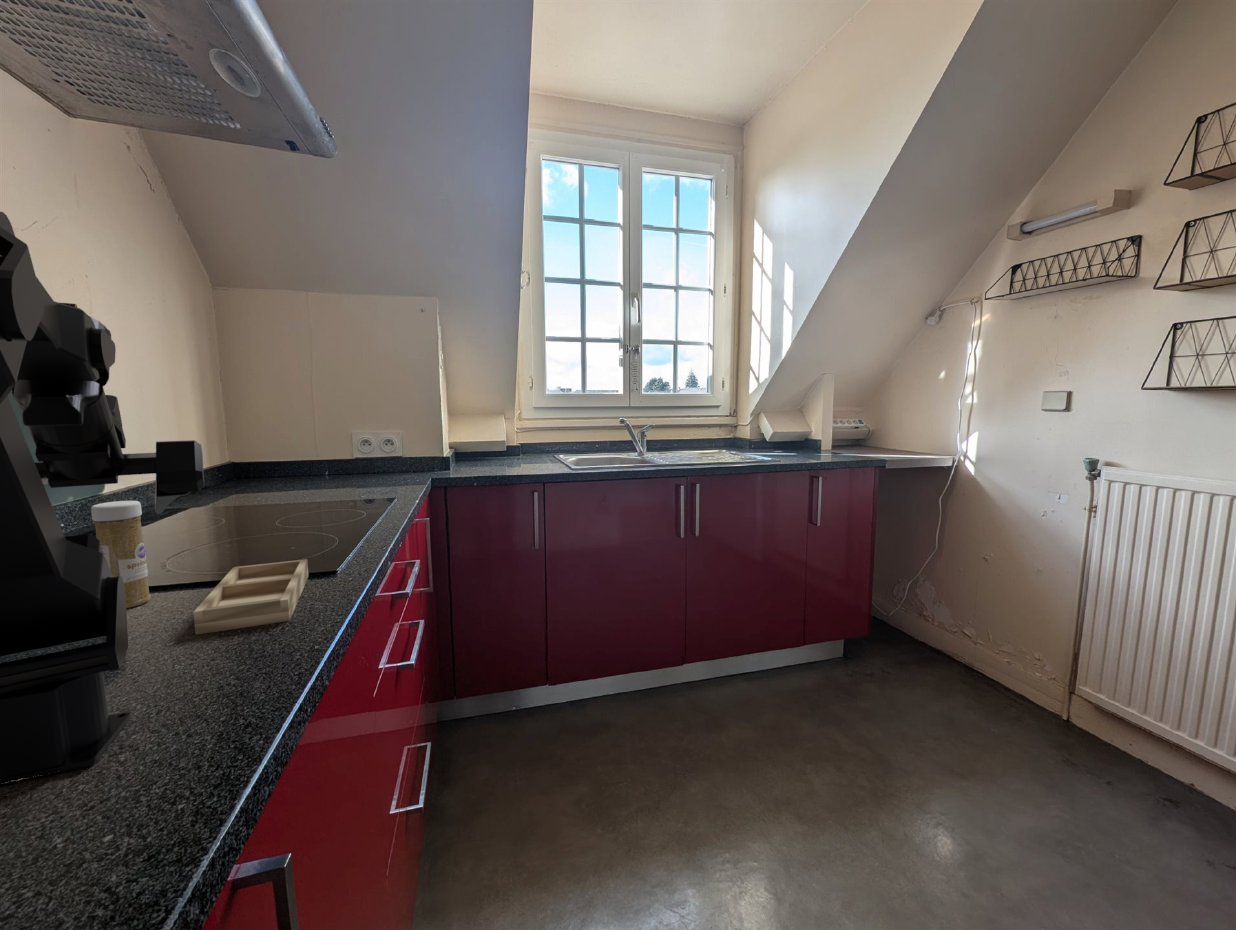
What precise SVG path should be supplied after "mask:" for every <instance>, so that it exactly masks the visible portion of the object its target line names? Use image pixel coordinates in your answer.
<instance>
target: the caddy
mask: <svg viewBox="0 0 1236 930" xmlns="http://www.w3.org/2000/svg"><path fill="white" fill-rule="evenodd" d="M308 579H309V565H308V558H306V559H298V560H297V559H296V560H288V561H287V560H285V561H279V562H269V563H259V564H249V565H240V566H239V565H238V566H233V567H232V569H230V571H228V572H227V574H226V575H225V576H224V577H223V578H222V579H221V580H220V582H219V583H218V584H217V585H216V586H215V587H214V588H213V589H212V590H211V591H210V593H209V594H208V595H207V596H206V597H205V599H203V600H202V601H201V603H200V604H199V605H198V606H197V607H196V608H195V609H194V611H192V612H193V621H194V623H193V624H194V631H195V635H202V634H208V633H216V632H223V631H229V630H235V629H241V628H242V629H243V628H244V629H245V628H250V627H257V626H263V625H271V624H278V623H283V622H290V621H291V619H292V617H293V615H294V612H295V610H296V607H297V605H298V602H299V600H300V596H302V593H303V591H304V587H305V586H306V583H307V582H308Z"/></svg>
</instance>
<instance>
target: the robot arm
mask: <svg viewBox="0 0 1236 930" xmlns="http://www.w3.org/2000/svg"><path fill="white" fill-rule="evenodd" d="M15 234H16V233H15V231H14V227H13V226H12V223H11V221H10V219H9V217H8V216H7V214H6V213H4V211H0V658H5V657H10V656H14V655H15V656H16V655H19V654H20V655H21V654H24V653H25V654H26V653H30V652H31V653H32V652H35V651H40V650H45V649H51V648H56V647H62V646H67V645H70V644H76V643H77V644H78V643H81V642H86V641H87V642H88V641H90V640H91V641H92V640H96V639H101V638H105V641H104V642H100V643H94V644H90V645H86V646H84V645H83V646H79V647H76V648H70V649H65V650H58V651H55V652H50V653H44V654H39V655H35V656H30V657H25V658H20V659H16V660H11V661H4V662H0V784H1V783H5V782H8V781H9V782H10V781H11V780H18V779H21V778H28V777H29V778H31V779H33V778H32V777H33V776H34V777H35V776H38V775H39V776H40V775H45V776H47V775H46V774H48V773H54V772H55V773H54V774H57V773H56V772H58V771H63V772H67V770H68V771H71V770H72V769H73V770H77V769H80V768H79V767H82V768H85V767H89V766H92V765H93V764H95V763H96V762H98V759H100V758H101V756H102V755H103V753H104V752H105V751H106V750H107V748H108V747H109V746H110V745H111V744H112V742H113V741H114V740H115V738H116V737H117V736H118V735H119V733H120V732H121V731H122V730H123V728H124V727H125V726H126V725H127V723H128V722H129V720H131V712H129V711H125V712H124V711H123V712H120V713H114V714H109V708H108V700H107V692H106V683H105V676H104V672H108V671H110V672H114V671H117V670H120V669H121V668H122V665H123V662H124V659H125V657H126V655H127V651H128V649H129V634H128V617H127V616H128V615H127V608H126V595H125V587H124V582H123V579H122V577H121V576H116V577H113V575H112V572H111V569H110V567H109V565H108V561H107V560H106V559H105V557H104V554H103V551H102V547H101V544H100V541H99V539H97V537H96V536H94V535H93V534H91V533H88V534H77V535H76V534H75V535H70V536H69V535H68V536H65V535H64V533H63V530H62V528H61V527H62V526H61V525H60V522H59V520H58V517H57V515H56V512H55V510H54V508H53V507H54V506H53V505H52V502H51V500H50V498H49V495H48V492H47V491H46V486H47V487H48V486H49V487H50V489H52V488H53V489H54V488H65V487H66V488H67V487H69V488H70V487H83V486H84V487H85V486H98V485H99V486H100V485H112V484H119V476H121V477H122V476H136V475H149V474H152V475H153V474H155V484H154V485H155V486H154V488H155V489H154V511H155V514H157V515H160V514H162V513H163V511H164V510H165V509H166V508H167V507H168V506H169V504H171V503H172V502H173V501H174V500H176V499H177V498H179V497H182V496H187V495H189V494H190V493H193V492H199V491H201V490H202V489H204V488H205V474H204V459H203V457H204V456H203V448H202V444H200V443H199V442H198V441H196V440H193V439H192V440H169V441H168V440H167V441H165V440H164V441H162V440H161V441H160V440H159V441H156V442H155V452H143V453H141V452H140V453H139V452H138V453H123V450H122V449H126V445H127V443H126V442H127V440H126V436H125V433H124V429H123V421H122V417H121V416H122V415H121V411H120V406H119V401H118V397H117V396H115V395H112V394H106V392H105V389H104V387H105V386H106V385H107V383H108V382H109V380H110V368H111V367H112V366H113V365H114V364H115V363H116V353H117V352H116V344H115V342H114V341H113V340H112V333H111V330H109V328H107V327H106V325H105V324H103V323H102V322H101V321H100V320H97V318H94V317H91V316H90V315H88V314H87V313H86V312H85V311H84V310H83V309H81V308H79V307H78V305H77V304H76V303H69V302H68V303H67V302H57V301H55V300H54V299H53V298H52V296H51V295H50V294H49V292H48V291H47V290H46V288H45V287H44V285H43V284H42V282H41V281H40V279H39V278H38V277H37V274H36V272H35V268H34V264H33V260H32V258H31V254H30V250H29V245H28V244H27V243H26V242H25V241H23V240H21V239H19V238H18V237H16V235H15ZM10 393H11V395H12V397H13V399H14V401H15V403H16V404H17V407H18V409H19V411H20V413H21V417H22V424H23V425H24V426H26V427H27V429H28V431H29V434H30V436H31V438H32V440H33V442H34V445H35V457H36V459H37V462H35V460H34V458H33V456H32V455H33V454H32V453H31V451H30V447H29V445H28V444H27V441H26V437H25V435H24V433H23V431H22V428H21V426H20V423H19V420H18V419H17V416H16V413H15V410H14V408H13V406H12V403H11V401H10V398H9V396H8V395H9V394H10ZM88 765H89V766H88ZM75 768H76V769H75ZM70 769H71V770H70ZM64 770H66V771H64ZM40 777H41V776H40Z"/></svg>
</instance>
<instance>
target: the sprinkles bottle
mask: <svg viewBox="0 0 1236 930" xmlns="http://www.w3.org/2000/svg"><path fill="white" fill-rule="evenodd" d="M90 509H91V510H90V511H91V520H92V521H93V525H94V526H95V537H96V538H97V539H99V541H100V544H101V547H102V551H103V554H104V557H105V559H106V560H107V561H108V565H109V567H110V569H111V572H112V575H113V577H116V576H121V577H122V579H123V582H124V587H125V595H126V609H130V608H134V607H136V606H140V605H143V604H145V603H147V602H149V601H150V600H151V598H152V595H151V594H150V589H149V581H148V574H149V573H148V564H147V557H146V548H145V544H144V537H143V530H142V529H143V528H142V522H141V521H142V520H141V519H142V517H141V516H142V514H143V511H142V505H141V502H140V501H138V500H117V501H116V500H115V501H109V502H108V501H107V502H101V503H97V504H94V505H92V506H91V508H90Z"/></svg>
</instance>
